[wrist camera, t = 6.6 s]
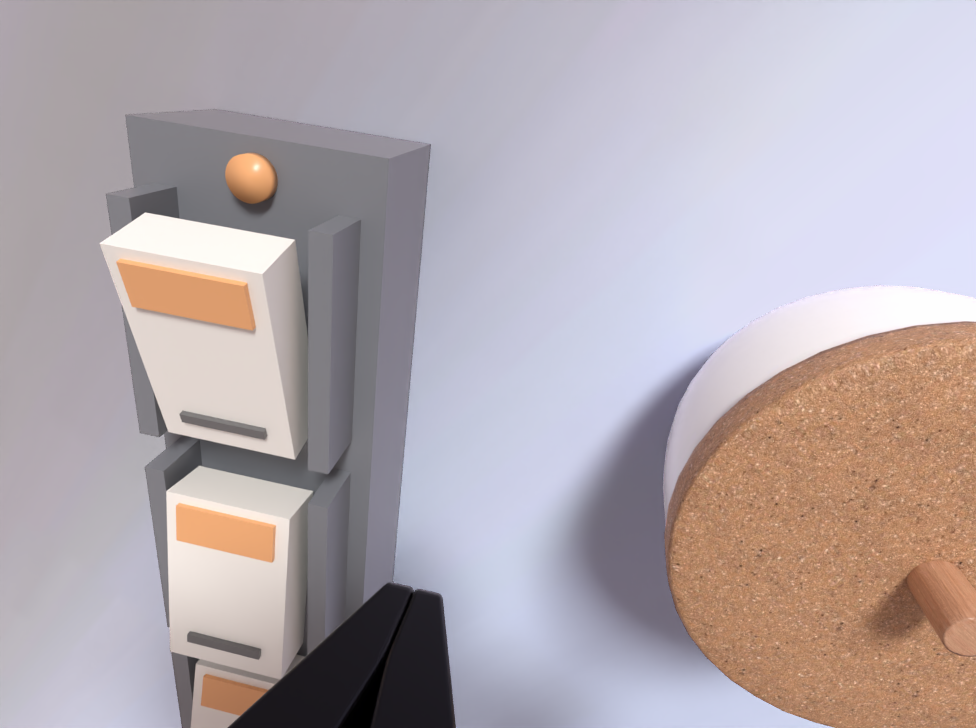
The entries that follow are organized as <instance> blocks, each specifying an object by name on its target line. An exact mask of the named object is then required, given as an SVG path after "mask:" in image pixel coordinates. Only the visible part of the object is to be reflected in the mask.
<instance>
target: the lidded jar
mask: <svg viewBox="0 0 976 728" xmlns="http://www.w3.org/2000/svg"><path fill="white" fill-rule="evenodd" d="M663 496H664V511H665V524H666V526H665V533H664V539H665V554H666V568H667V576H668V582H669V586H670V590H671V594H672V597H673V601H674V604H675V608H676V611H677V613H678V615H679V617H680V619H681V621H682V623H683V625H684V626H685V628H686V630H687V632H688V634H689V636H690V637H691V638H692V639H693V641H694V642H695V643H696V645H697V646H698V647H699V649H700V650H701V651H702V653H703V654H704V655H705V656H706V657H707V658H708V659H709V660H710V661H711V662H712V663H713V664H714V665H715V666H716V667H717V668H718V669H720V670H721V671H722V672H723V673H724V674H725V675H726V676H727V677H728V678H729V679H730V680H732V681H733V682H735V683H736V684H738V685H739V686H741V687H742V688H744V689H745V690H747V691H748V692H750V693H751V694H753V695H754V696H756V697H758V698H760V699H761V700H763V701H765V702H767V703H769V704H771V705H773V706H775V707H777V708H779V709H781V710H782V711H785V712H787V713H790V714H793V715H796V716H799V717H801V718H804V719H807V720H810V721H813V722H816V723H819V724H823V725H827V726H831V727H835V728H976V298H972V297H969V296H965V295H959V294H954V293H948V292H943V291H938V290H932V289H925V288H918V287H911V286H885V285H875V286H865V287H855V288H845V289H839V290H834V291H829V292H825V293H821V294H817V295H813V296H808V297H804V298H802V299H799V300H796V301H794V302H791V303H788V304H786V305H783V306H780V307H778V308H776V309H774V310H772V311H770V312H768V313H766V314H764V315H763V316H761V317H759V318H757V319H755V320H753V321H752V322H750V323H749V324H747V325H746V326H745V327H743V328H742V329H741V330H739V331H738V332H736V333H735V334H734V335H732V336H731V337H730V338H728V339H727V340H726V341H725V342H724V343H723V344H722V345H721V346H720V347H719V348H718V349H717V350H716V351H715V352H714V353H713V354H712V355H711V356H710V357H709V359H708V360H707V361H706V362H705V364H704V365H703V366H702V368H701V369H700V370H699V372H698V373H697V374H696V376H695V377H694V378H693V379H692V381H691V382H690V384H689V386H688V388H687V390H686V392H685V393H684V395H683V397H682V399H681V401H680V403H679V405H678V408H677V411H676V414H675V417H674V420H673V423H672V426H671V430H670V434H669V437H668V441H667V448H666V456H665V463H664V475H663Z"/></svg>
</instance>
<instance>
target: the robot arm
mask: <svg viewBox="0 0 976 728" xmlns="http://www.w3.org/2000/svg"><path fill="white" fill-rule="evenodd" d="M227 728H456V724H455V714H454V704H453V694H452V685H451V675H450V665H449V655H448V646H447V636H446V626H445V616H444V607H443V598H442V596H441V595H440V594H439V593H435V592H431V591H427V590H423V589H417V590H416V591H415V592H414V589H413V588H412V587H410V586H406V585H401V584H397V583H393V582H389V583H386V584H385V585H384V586H383V587H381V588H380V589H379V590H378V591H377V592H376V593H375V594H374V595H373V596H372V597H370V598H369V599H368V600H367V601H366V602H365V603H364V604H363V605H362V606H361V607H359V608H358V609H357V610H356V611H355V612H354V613H353V614H352V615H351V616H350V617H348V618H347V619H346V620H345V621H344V622H343V623H342V624H341V625H340V626H339V627H337V628H336V629H335V630H334V631H333V632H332V633H331V634H330V635H329V636H328V637H326V638H325V639H324V640H323V641H322V642H321V643H320V644H319V645H318V646H317V647H315V648H314V649H313V650H312V651H311V652H310V653H309V654H308V655H307V656H306V657H304V658H303V659H302V660H301V661H300V662H299V663H298V664H297V665H296V666H295V667H293V668H292V669H291V670H290V671H289V672H288V673H287V674H286V675H285V676H284V677H282V678H281V679H280V680H279V681H278V682H277V683H276V684H275V685H274V686H273V687H271V688H270V689H269V690H268V691H267V692H266V693H265V694H264V695H263V696H262V697H260V698H259V699H258V700H257V701H256V702H255V703H254V704H253V705H252V706H251V707H249V708H248V709H247V710H246V711H245V712H244V713H243V714H242V715H241V716H240V717H238V718H237V719H236V720H235V721H234V722H233V723H232V724H231V725H230V726H229V727H227Z"/></svg>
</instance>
